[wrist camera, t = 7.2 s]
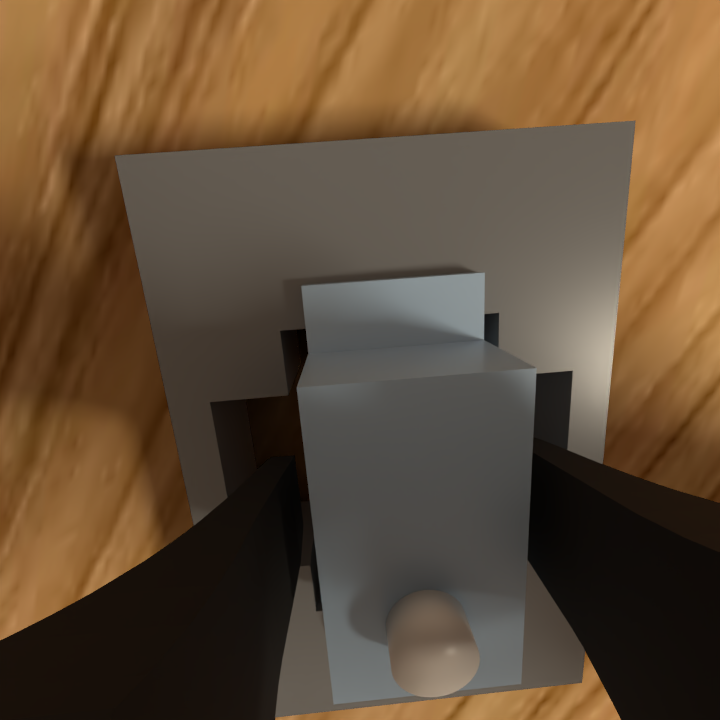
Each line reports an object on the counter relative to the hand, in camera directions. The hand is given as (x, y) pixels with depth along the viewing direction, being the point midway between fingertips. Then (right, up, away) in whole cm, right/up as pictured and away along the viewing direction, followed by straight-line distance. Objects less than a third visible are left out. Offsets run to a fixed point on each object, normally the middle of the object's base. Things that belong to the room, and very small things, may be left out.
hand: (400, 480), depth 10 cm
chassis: (0, +1, +3) cm, 3 cm away
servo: (0, +1, +3) cm, 3 cm away
